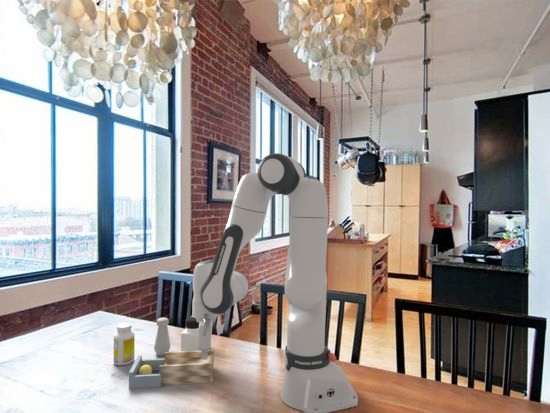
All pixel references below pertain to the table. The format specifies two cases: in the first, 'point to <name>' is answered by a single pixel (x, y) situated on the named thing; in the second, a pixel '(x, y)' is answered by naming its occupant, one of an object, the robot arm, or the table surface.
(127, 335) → the supplement bottle
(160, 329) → the salt shaker
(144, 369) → the ball
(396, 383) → the table surface
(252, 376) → the table surface
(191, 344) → the medicine bottle
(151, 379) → the light blue open bin
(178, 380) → the tan wooden tray
